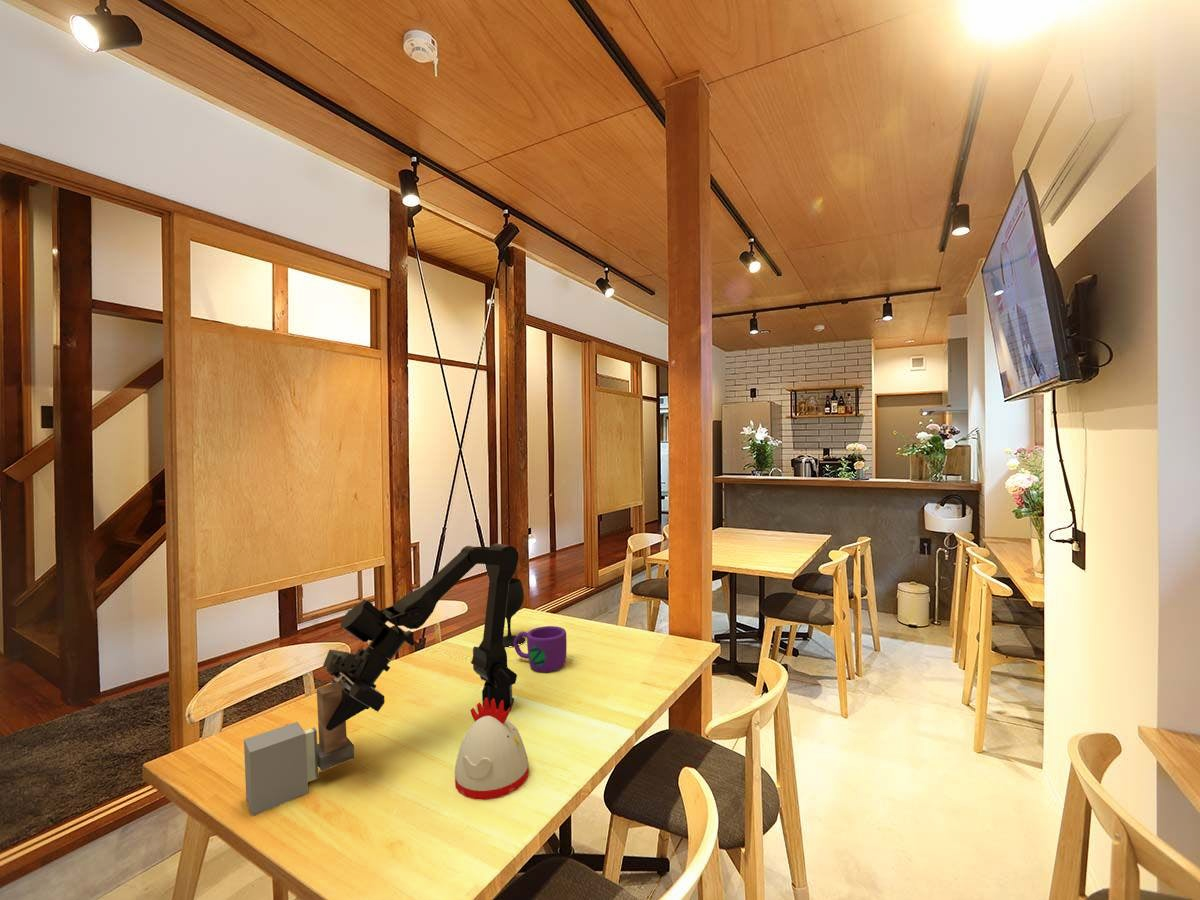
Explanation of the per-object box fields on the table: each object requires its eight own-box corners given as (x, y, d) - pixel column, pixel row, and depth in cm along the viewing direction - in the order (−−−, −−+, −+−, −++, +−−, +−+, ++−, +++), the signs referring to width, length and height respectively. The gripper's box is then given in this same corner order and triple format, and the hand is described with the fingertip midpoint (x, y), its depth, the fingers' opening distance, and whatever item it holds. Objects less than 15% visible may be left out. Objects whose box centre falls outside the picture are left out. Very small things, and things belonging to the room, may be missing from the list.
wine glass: (511, 649, 169) (508, 586, 169) (486, 644, 174) (484, 583, 174) (532, 639, 177) (529, 579, 177) (508, 634, 183) (506, 576, 183)
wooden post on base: (345, 746, 110) (341, 678, 110) (354, 757, 105) (351, 687, 105) (312, 758, 106) (309, 688, 106) (321, 771, 101) (318, 697, 101)
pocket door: (316, 774, 104) (314, 727, 104) (318, 777, 103) (316, 730, 103) (269, 793, 99) (267, 743, 99) (270, 797, 98) (268, 746, 98)
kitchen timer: (509, 805, 94) (506, 720, 94) (440, 794, 98) (437, 712, 98) (539, 760, 108) (536, 685, 108) (477, 752, 111) (475, 680, 111)
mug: (574, 661, 157) (573, 627, 157) (554, 677, 147) (553, 640, 147) (525, 653, 165) (524, 621, 165) (503, 668, 155) (501, 633, 155)
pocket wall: (299, 778, 104) (297, 721, 104) (307, 793, 100) (305, 733, 100) (246, 799, 98) (243, 739, 98) (252, 816, 94) (249, 752, 94)
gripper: (335, 623, 115) (279, 691, 108) (365, 644, 101) (302, 724, 94) (374, 649, 120) (323, 716, 113) (407, 672, 107) (351, 750, 99)
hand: (324, 725), depth 105 cm, fingers closed on wooden post on base, 4 cm apart
